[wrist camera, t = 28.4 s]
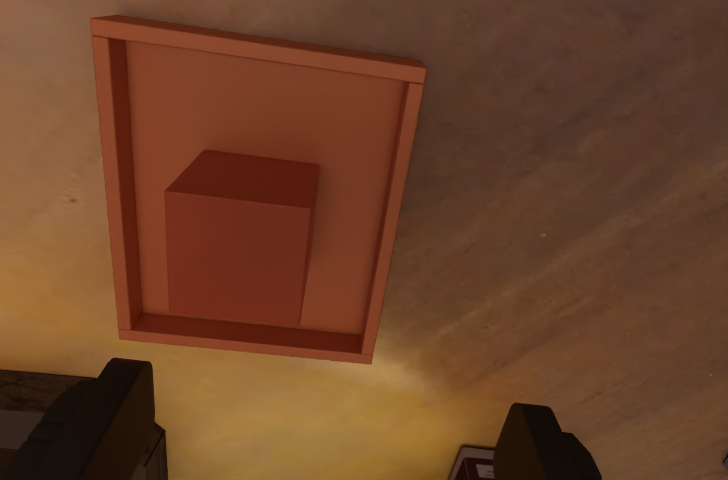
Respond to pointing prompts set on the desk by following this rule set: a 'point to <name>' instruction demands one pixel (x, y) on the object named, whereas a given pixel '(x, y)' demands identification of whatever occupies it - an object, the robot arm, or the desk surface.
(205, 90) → the terracotta tray
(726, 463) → the gray tray
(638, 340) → the desk surface
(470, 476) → the supplement box
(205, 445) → the desk surface
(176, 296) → the rust cube
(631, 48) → the desk surface
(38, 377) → the mug
